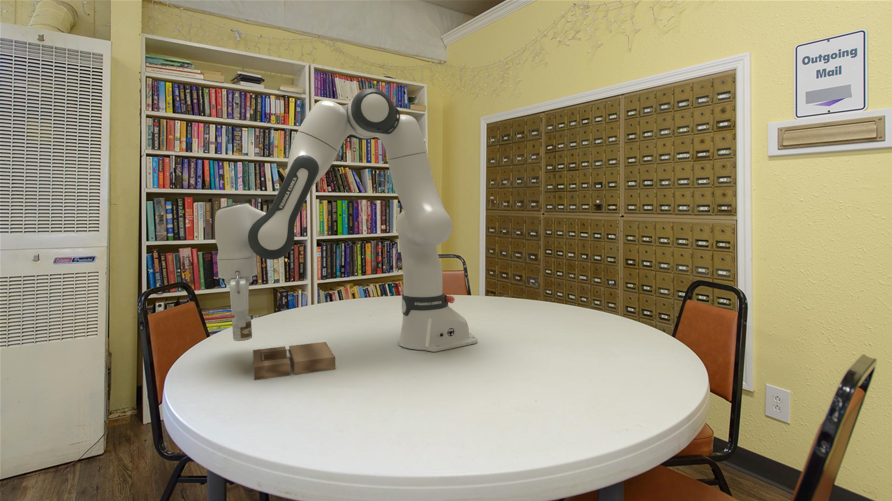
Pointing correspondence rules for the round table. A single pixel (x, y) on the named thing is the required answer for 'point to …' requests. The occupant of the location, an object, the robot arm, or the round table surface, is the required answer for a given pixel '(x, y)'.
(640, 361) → the round table surface
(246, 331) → the pill bottle
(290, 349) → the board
